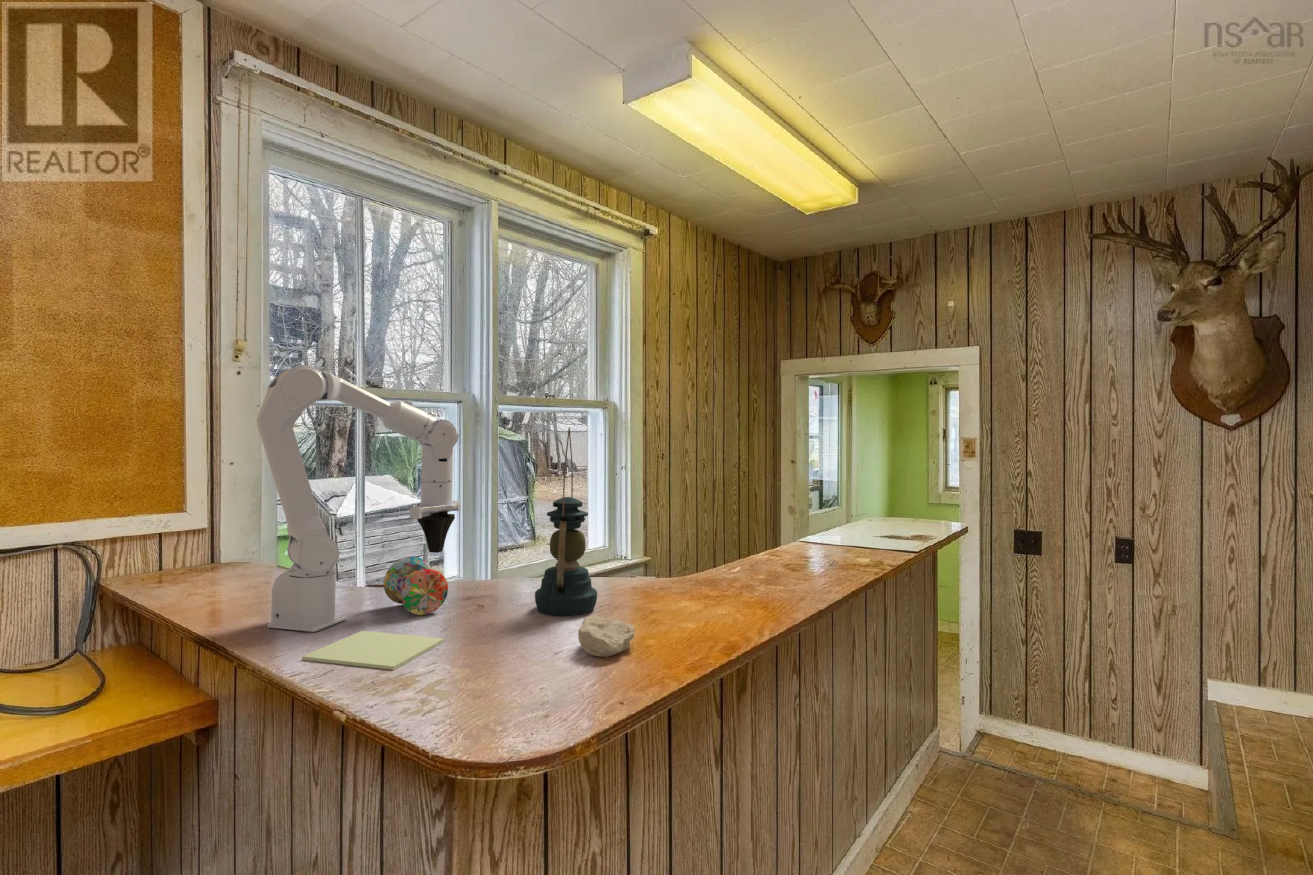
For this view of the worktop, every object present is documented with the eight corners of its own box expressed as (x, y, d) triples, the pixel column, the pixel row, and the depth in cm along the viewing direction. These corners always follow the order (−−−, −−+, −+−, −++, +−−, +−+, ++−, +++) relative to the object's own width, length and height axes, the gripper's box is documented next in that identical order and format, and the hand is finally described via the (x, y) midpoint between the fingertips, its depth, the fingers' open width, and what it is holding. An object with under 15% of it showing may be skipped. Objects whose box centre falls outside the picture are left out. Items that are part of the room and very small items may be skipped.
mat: (302, 659, 94) (302, 656, 94) (362, 633, 107) (362, 630, 107) (393, 670, 91) (393, 666, 91) (444, 641, 103) (444, 638, 103)
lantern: (592, 620, 117) (596, 427, 117) (527, 619, 117) (530, 425, 117) (600, 600, 131) (603, 428, 131) (542, 599, 131) (545, 427, 131)
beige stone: (641, 623, 106) (630, 614, 97) (633, 665, 103) (621, 660, 94) (590, 614, 108) (574, 605, 98) (581, 655, 105) (564, 649, 96)
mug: (422, 558, 117) (403, 547, 125) (389, 604, 113) (372, 589, 122) (472, 589, 123) (451, 577, 131) (443, 634, 120) (423, 618, 128)
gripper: (434, 484, 117) (433, 559, 117) (474, 479, 131) (473, 546, 131) (400, 483, 118) (398, 557, 118) (443, 478, 133) (441, 545, 133)
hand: (435, 551), depth 125 cm, fingers closed
